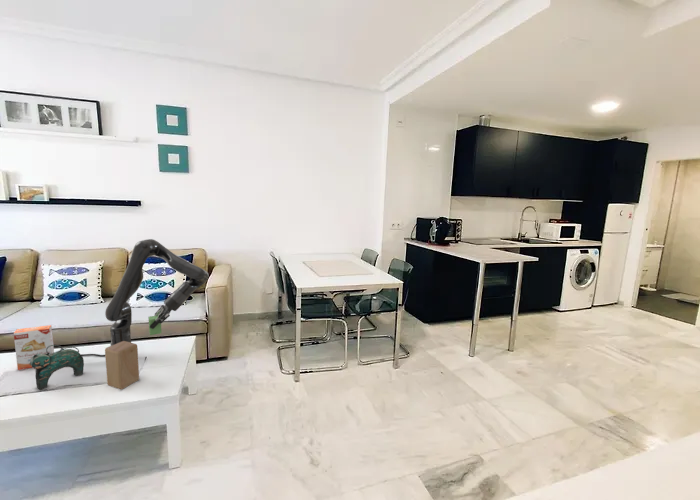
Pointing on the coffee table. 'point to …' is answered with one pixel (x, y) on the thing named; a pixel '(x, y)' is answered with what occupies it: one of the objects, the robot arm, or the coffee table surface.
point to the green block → (157, 329)
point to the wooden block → (122, 364)
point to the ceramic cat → (55, 364)
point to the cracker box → (32, 344)
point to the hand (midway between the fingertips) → (150, 325)
